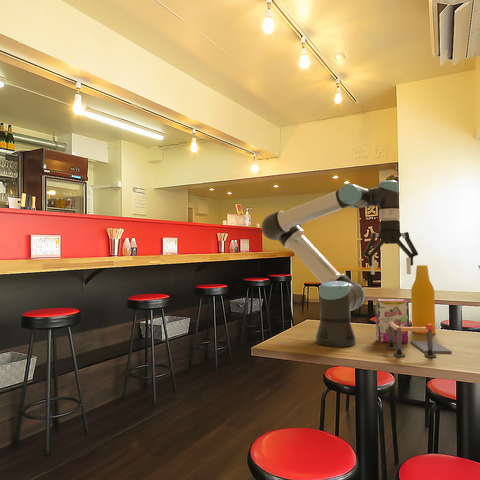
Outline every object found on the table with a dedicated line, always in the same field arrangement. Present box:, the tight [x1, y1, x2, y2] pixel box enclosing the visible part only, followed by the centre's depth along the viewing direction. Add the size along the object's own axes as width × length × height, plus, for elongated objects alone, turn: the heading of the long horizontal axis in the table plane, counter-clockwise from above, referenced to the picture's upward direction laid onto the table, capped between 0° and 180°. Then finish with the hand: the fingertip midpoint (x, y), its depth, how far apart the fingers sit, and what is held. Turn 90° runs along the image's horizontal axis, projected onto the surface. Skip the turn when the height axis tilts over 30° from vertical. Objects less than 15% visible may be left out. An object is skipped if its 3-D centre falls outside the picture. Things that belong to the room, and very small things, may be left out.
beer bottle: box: [410, 264, 437, 335], centre depth 170 cm, size 9×9×29 cm
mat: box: [410, 340, 453, 354], centre depth 142 cm, size 9×15×1 cm, turn 173°
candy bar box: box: [375, 298, 409, 344], centre depth 153 cm, size 11×5×16 cm, turn 84°
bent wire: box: [385, 322, 437, 359], centre depth 137 cm, size 14×14×11 cm
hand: (390, 274), depth 153 cm, fingers open, 13 cm apart
